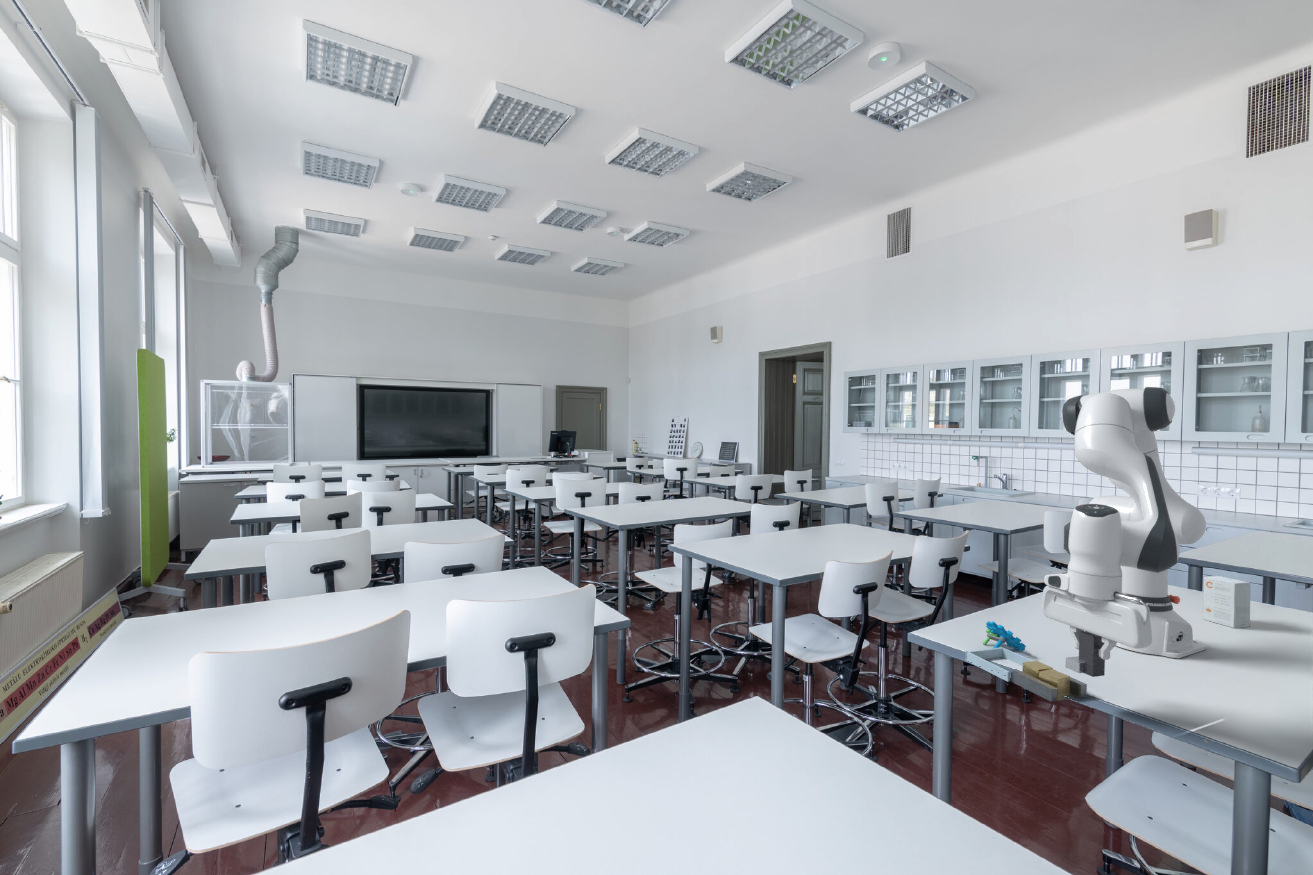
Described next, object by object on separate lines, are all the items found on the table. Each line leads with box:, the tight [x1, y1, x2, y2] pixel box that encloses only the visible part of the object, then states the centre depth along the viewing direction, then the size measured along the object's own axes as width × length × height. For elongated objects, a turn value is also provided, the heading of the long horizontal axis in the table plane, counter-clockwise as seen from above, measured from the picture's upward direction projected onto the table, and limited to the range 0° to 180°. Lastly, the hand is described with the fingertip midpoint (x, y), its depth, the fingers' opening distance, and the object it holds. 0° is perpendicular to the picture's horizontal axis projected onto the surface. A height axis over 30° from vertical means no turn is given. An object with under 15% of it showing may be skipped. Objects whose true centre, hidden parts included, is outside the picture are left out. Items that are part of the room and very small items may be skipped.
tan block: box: [1022, 660, 1054, 680], centre depth 130 cm, size 4×4×4 cm
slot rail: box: [1010, 668, 1088, 703], centre depth 127 cm, size 10×10×3 cm
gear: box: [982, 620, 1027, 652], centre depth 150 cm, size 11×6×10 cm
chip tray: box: [964, 646, 1033, 683], centre depth 138 cm, size 11×12×2 cm
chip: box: [1039, 668, 1071, 698], centre depth 126 cm, size 4×4×4 cm
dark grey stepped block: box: [1065, 631, 1106, 678], centre depth 119 cm, size 5×5×8 cm
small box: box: [1202, 575, 1251, 629], centre depth 172 cm, size 8×6×13 cm
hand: (1092, 654), depth 118 cm, fingers closed on dark grey stepped block, 3 cm apart
